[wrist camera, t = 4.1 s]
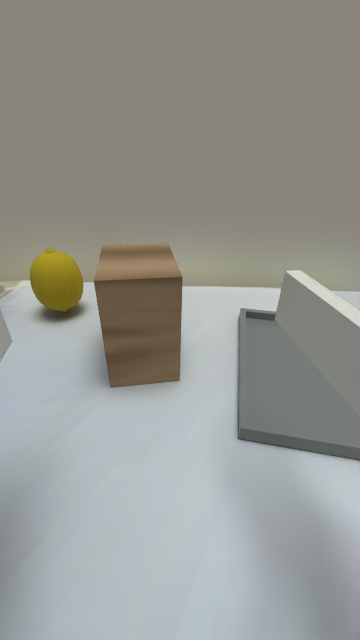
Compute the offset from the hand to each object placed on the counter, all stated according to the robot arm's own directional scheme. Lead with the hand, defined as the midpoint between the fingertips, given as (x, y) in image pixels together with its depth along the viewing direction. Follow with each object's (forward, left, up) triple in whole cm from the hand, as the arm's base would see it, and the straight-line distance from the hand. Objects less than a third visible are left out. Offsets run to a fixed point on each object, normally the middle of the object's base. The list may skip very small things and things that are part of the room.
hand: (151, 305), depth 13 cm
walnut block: (-4, +9, -11) cm, 15 cm away
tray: (+14, +11, -11) cm, 21 cm away
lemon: (-16, +16, -12) cm, 25 cm away
